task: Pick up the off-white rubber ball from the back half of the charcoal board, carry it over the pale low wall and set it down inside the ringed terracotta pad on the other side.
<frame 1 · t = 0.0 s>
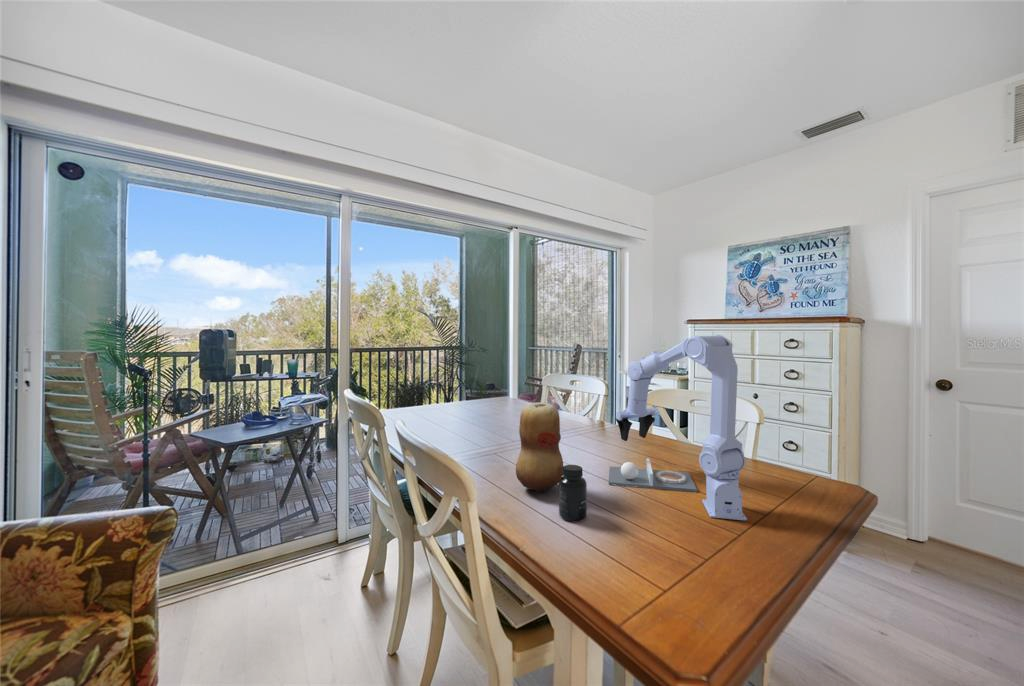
hand: (633, 438, 125), 11 cm above the table, tool pointing down, fingers open, 7 cm apart
butternut squash: (540, 490, 111), on the table
supplement bottle: (573, 516, 94), on the table
ball: (629, 470, 116), point 3 cm above the table, touching board
board: (649, 479, 117), on the table
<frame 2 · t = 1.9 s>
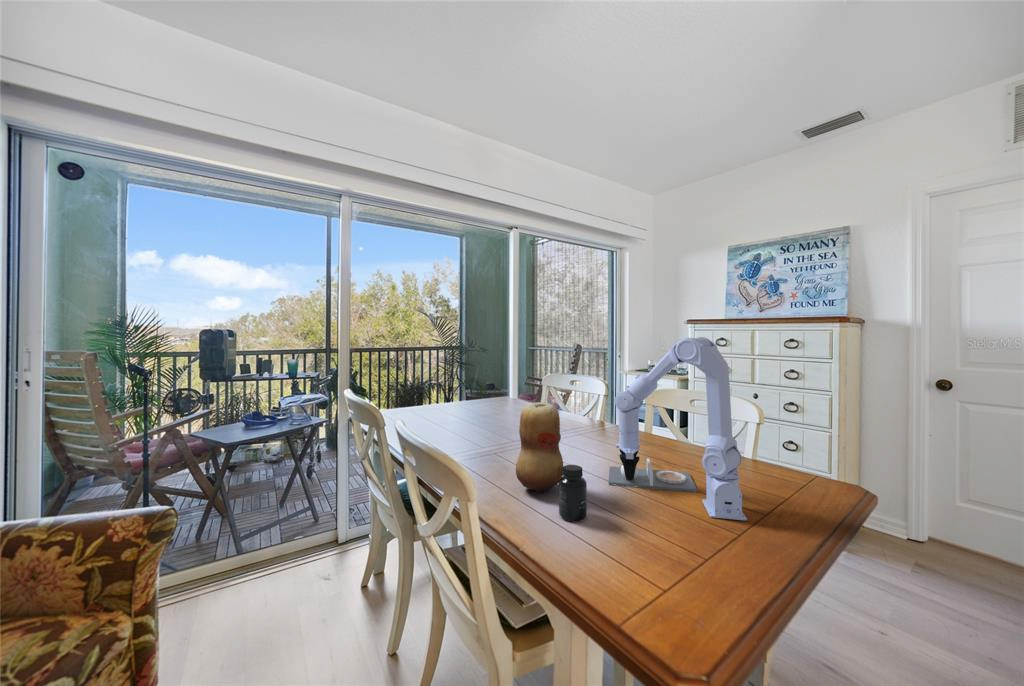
hand: (629, 475, 116), 2 cm above the table, tool pointing down, fingers closed on ball, 5 cm apart
ball: (629, 470, 116), point 3 cm above the table, touching board, gripper
everything else where it was.
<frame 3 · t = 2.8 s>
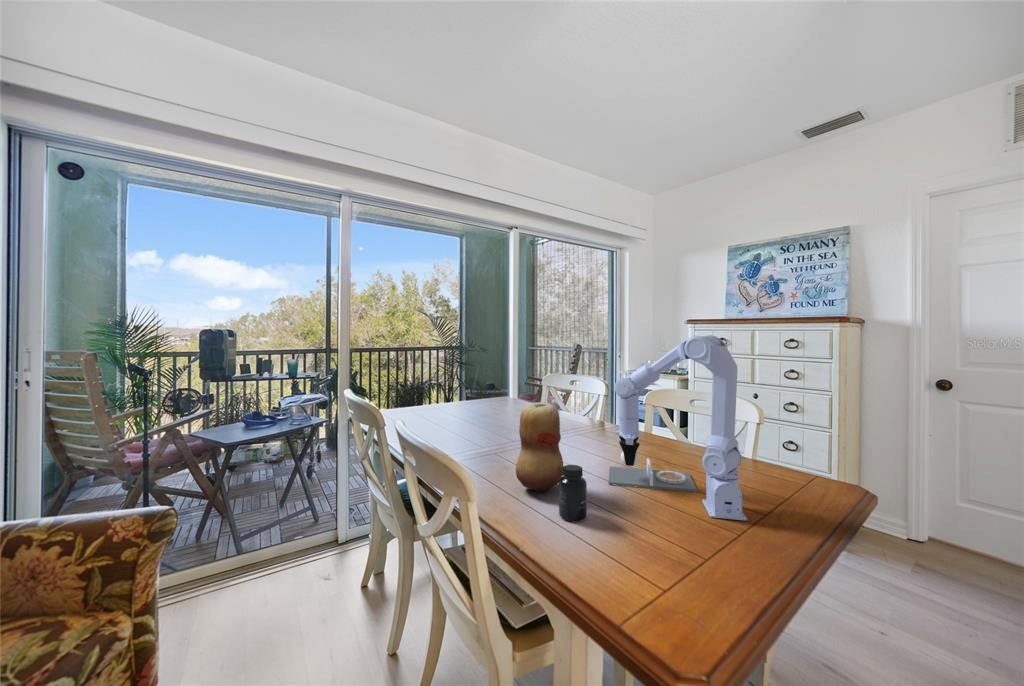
hand: (629, 462, 116), 6 cm above the table, tool pointing down, fingers closed on ball, 5 cm apart
ball: (629, 457, 116), point 7 cm above the table, touching gripper
everything else where it was.
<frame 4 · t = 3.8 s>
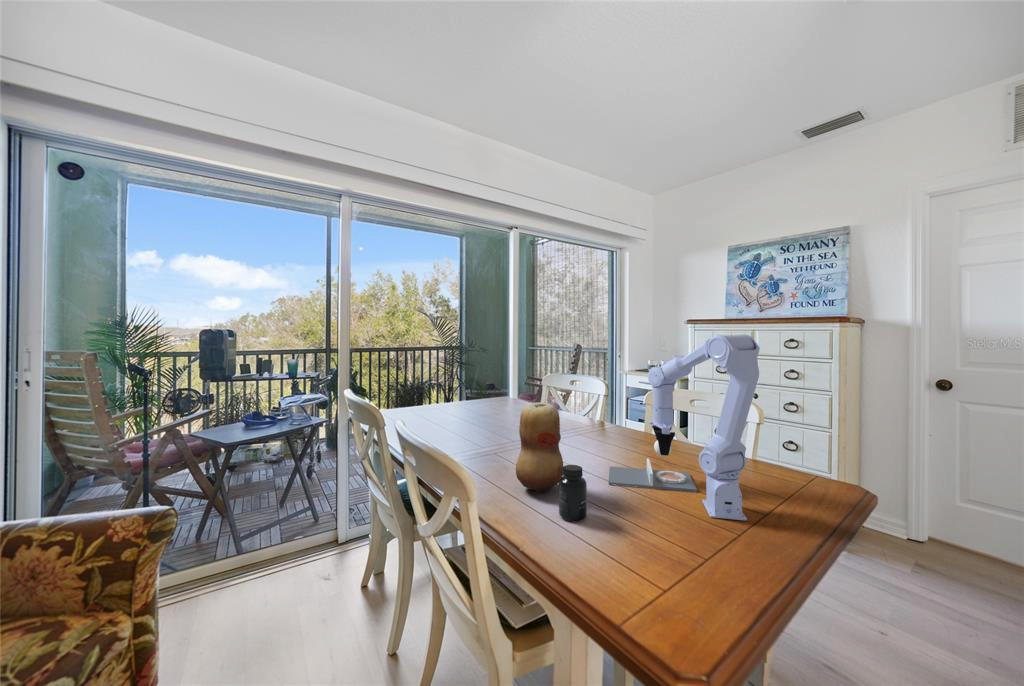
hand: (663, 452, 115), 9 cm above the table, tool pointing down, fingers closed on ball, 5 cm apart
ball: (662, 447, 115), point 10 cm above the table, touching gripper
everything else where it was.
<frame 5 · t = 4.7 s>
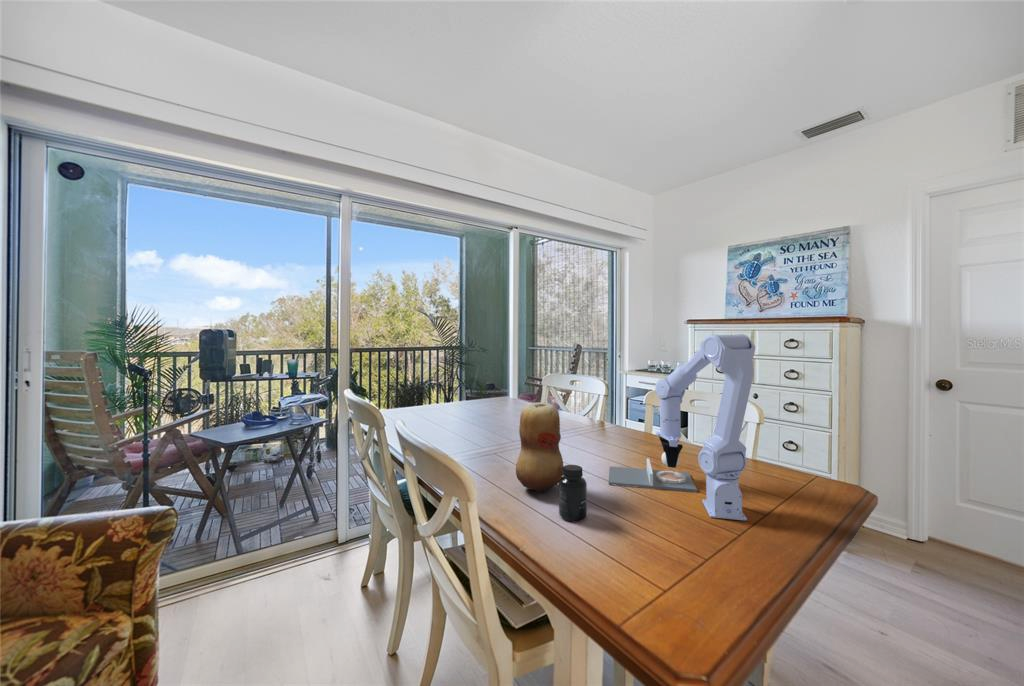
hand: (670, 463, 115), 5 cm above the table, tool pointing down, fingers closed on ball, 5 cm apart
ball: (670, 458, 115), point 7 cm above the table, touching gripper
everything else where it was.
when the fingers open (3 cm above the table, at t = 5.6 s): ball moves 1 cm, resting on board.
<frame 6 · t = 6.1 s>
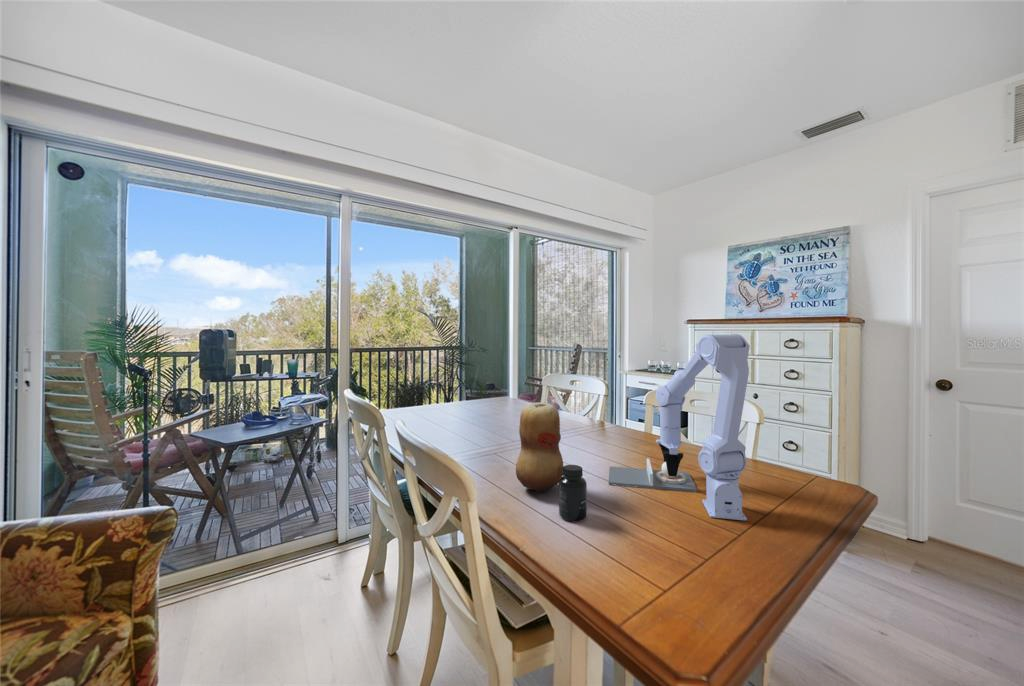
hand: (670, 471, 115), 3 cm above the table, tool pointing down, fingers open, 7 cm apart
ball: (670, 469, 116), point 3 cm above the table, tilted 9°, touching board
everything else where it was.
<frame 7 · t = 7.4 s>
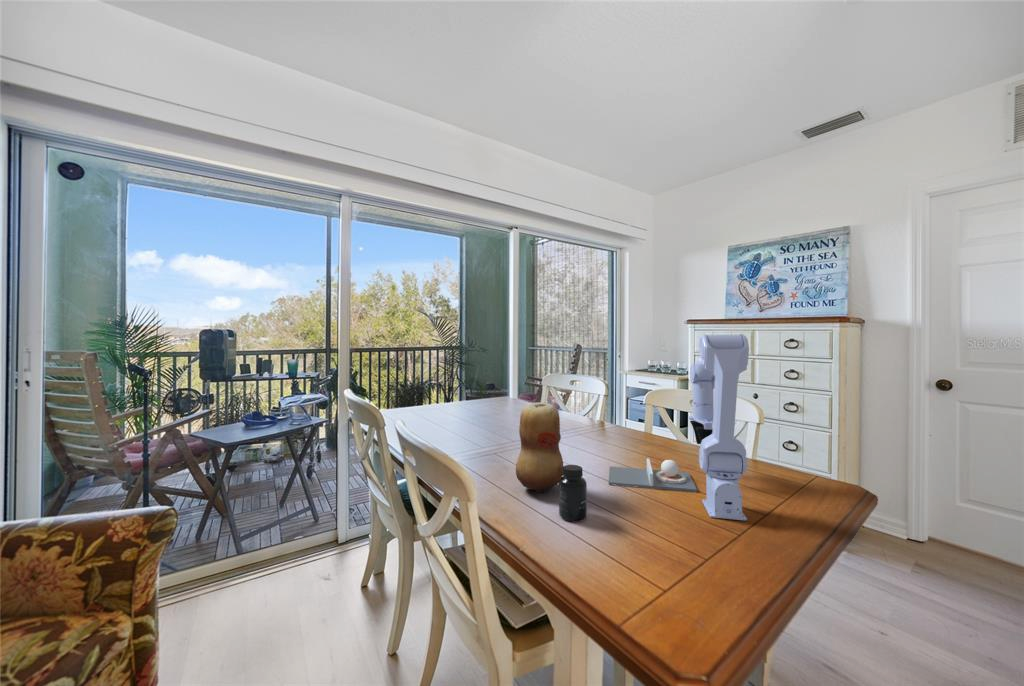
hand: (703, 447, 117), 9 cm above the table, tool pointing down, fingers open, 7 cm apart
ball: (669, 468, 117), point 3 cm above the table, tilted 32°, touching board
everything else where it was.
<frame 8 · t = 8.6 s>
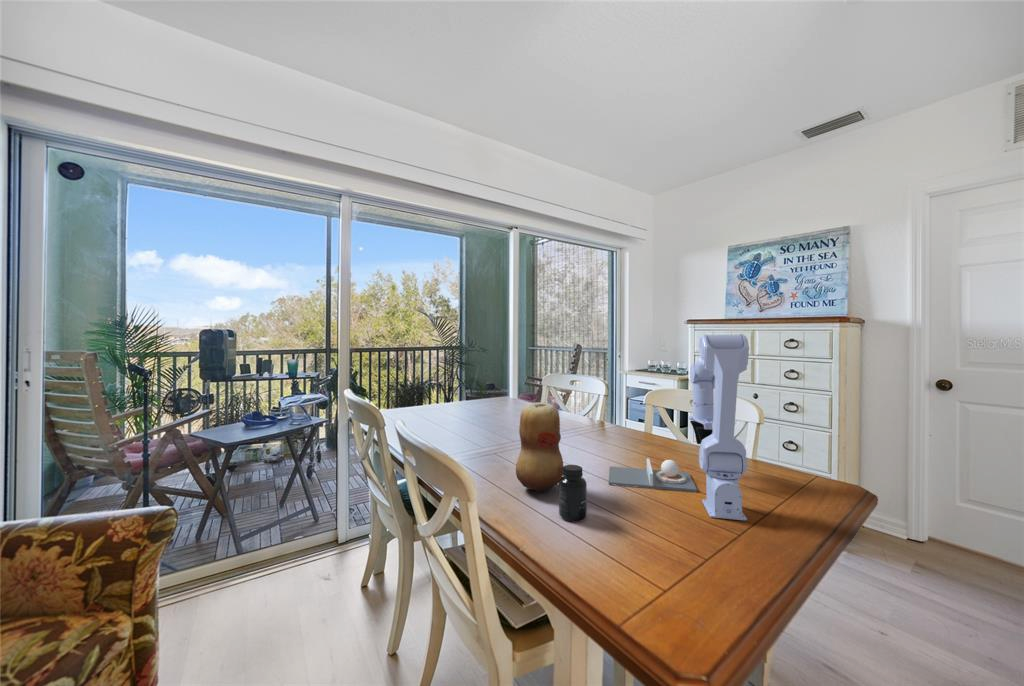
hand: (703, 447, 117), 9 cm above the table, tool pointing down, fingers open, 7 cm apart
nothing on the table moved.
at the end: ball 1.2 cm from the target spot on the board, point 3.5 cm above the board's base; the gripper is holding nothing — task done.
